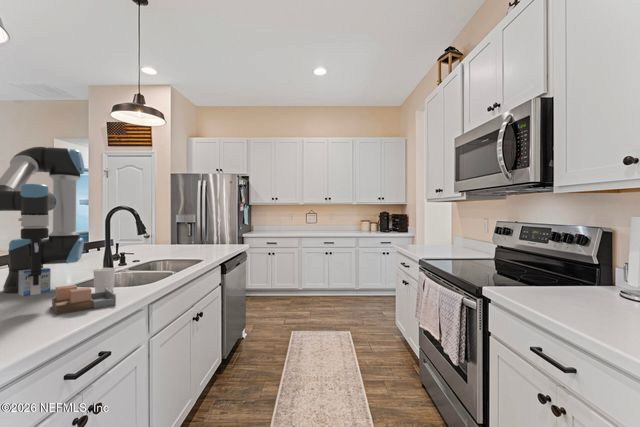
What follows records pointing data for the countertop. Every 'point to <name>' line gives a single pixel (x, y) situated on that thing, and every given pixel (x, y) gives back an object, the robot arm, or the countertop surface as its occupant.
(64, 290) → the tile
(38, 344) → the countertop surface
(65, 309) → the walnut plate
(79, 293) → the tile
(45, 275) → the medicine box
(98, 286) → the white cup
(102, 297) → the tray
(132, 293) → the countertop surface
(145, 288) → the countertop surface
